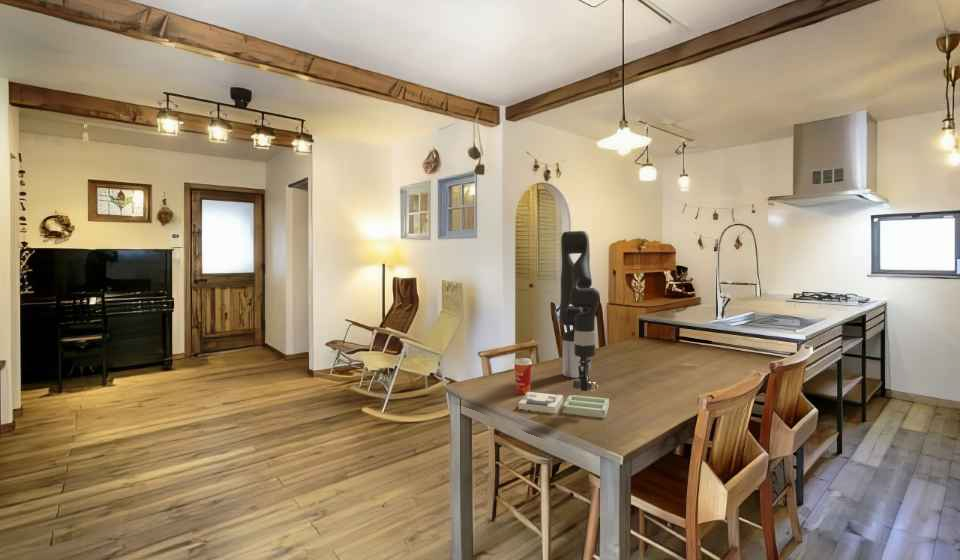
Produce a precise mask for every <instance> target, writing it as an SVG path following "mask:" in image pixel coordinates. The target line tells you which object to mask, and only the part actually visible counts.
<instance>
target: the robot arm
mask: <svg viewBox="0 0 960 560" xmlns="http://www.w3.org/2000/svg"><path fill="white" fill-rule="evenodd" d="M560 238H561V239H560V249H561V273H560V303H559V312H558V314H559V316H558V318H559V322H560V323H559V324H561V325H563V326H574V328H573V329H571V330H568V331H566V332H563V334H562V376H563V375H564V376H563V377H565V376H566V377H565V378H569V377H571V379H572V378H573V379H578V377H579V381H581V390H580V391H582V392H587V391H588V390H587V381H588V382H590V377H591V371H592V370H591V365H592V359H591V358H592V357H595V356H596V331H595V329H596V327H595V326H596V325H595V320H596V312H597V310H598V306H599V304H600V298H601V296H600V291H599V290H598V289H597V288H596V287H591V286H592V284H593V281H592V276H591V275H592V274H591V268H590V267H591V266H590V259H591V257H590V240H589V239H590V238H589V234H588V232H587V231H584V230H574V231H570V230H569V231H564V232H563V233H562V235H561V237H560ZM574 254H580V255H579V257H578V259H577V260H575V262H574V261H573V259H572V258H571V256H570V255H574ZM583 308H588V309H587V311H585V312H584V309H583Z"/></svg>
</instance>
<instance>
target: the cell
mask: <svg viewBox="0 0 960 560" xmlns="http://www.w3.org/2000/svg"><path fill="white" fill-rule="evenodd" d="M572 388H573V390H579V391H582V390H581V380H576V379H574V380H573V383H572ZM597 389H599V385H598V384H597V382H596V381H589V382H588V381H587V391H591V392H597Z"/></svg>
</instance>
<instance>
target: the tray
mask: <svg viewBox="0 0 960 560" xmlns="http://www.w3.org/2000/svg"><path fill="white" fill-rule="evenodd" d="M609 407H610V398H604V397H594V396H585V395H575V394H569V395H568V397H567V398H566V400H565V402H564V403H563V405H562V414H564V413H567V414H566V415H573V414H575V415H576V416H583V417H584V416H585V417H592V418H600V419H606V417H607V413H608V410H609ZM575 415H574V416H575Z"/></svg>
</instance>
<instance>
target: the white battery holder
mask: <svg viewBox="0 0 960 560" xmlns="http://www.w3.org/2000/svg"><path fill="white" fill-rule="evenodd" d="M563 402H564V395H563V394H554V393H553V394H551V393H542V392H533V391H530V392H527V393H526V394H525V395H524V396H523V397H522V398H521V400H520V401H519V402H518V410H520V409H523V410H522V411H528V410H531V411H530V412H537V411H539V412H538V413H546V412H547V414H554V413H555V414H556V413H557V412H558V410H559V409H560V407H561V406H562V404H563Z"/></svg>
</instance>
